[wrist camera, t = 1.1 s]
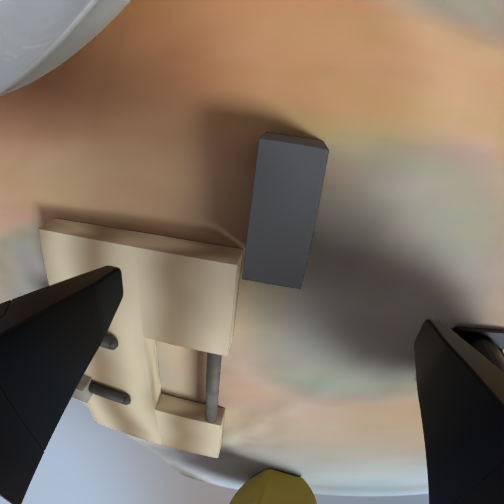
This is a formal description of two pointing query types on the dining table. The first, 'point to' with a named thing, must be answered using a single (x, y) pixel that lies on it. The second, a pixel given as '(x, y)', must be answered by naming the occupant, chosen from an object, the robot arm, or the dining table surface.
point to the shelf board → (152, 327)
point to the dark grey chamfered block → (284, 208)
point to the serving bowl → (47, 35)
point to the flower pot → (274, 490)
